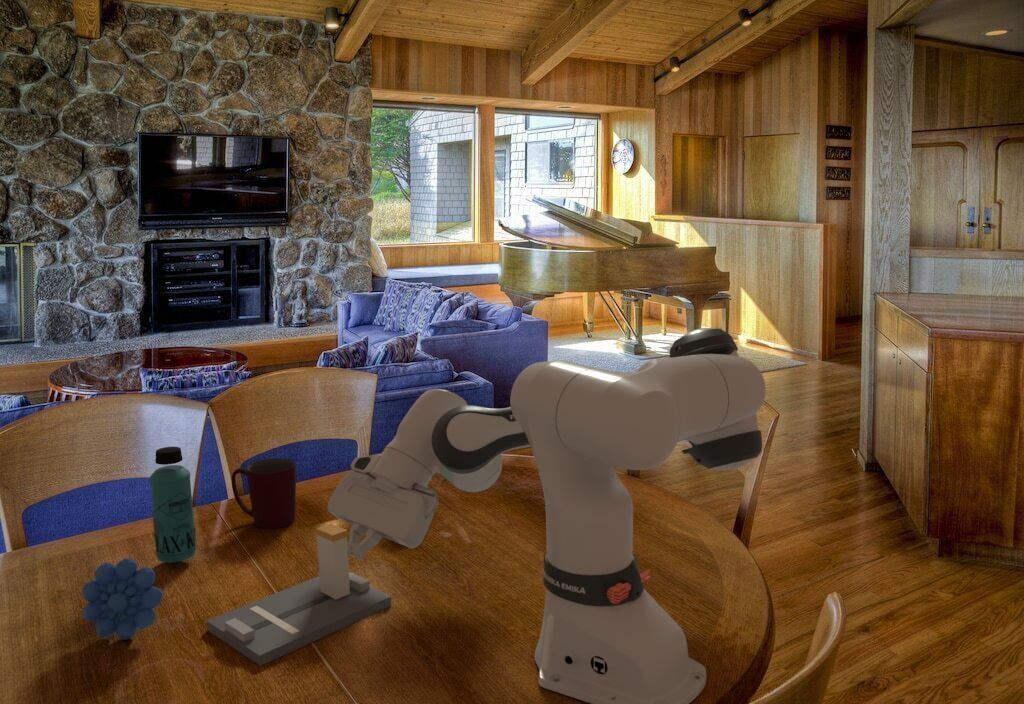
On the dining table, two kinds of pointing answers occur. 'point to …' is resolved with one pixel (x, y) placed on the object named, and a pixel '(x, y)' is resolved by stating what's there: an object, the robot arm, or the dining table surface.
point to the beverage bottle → (172, 508)
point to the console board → (295, 618)
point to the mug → (269, 492)
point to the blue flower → (121, 599)
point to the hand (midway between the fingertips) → (352, 555)
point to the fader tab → (333, 561)
